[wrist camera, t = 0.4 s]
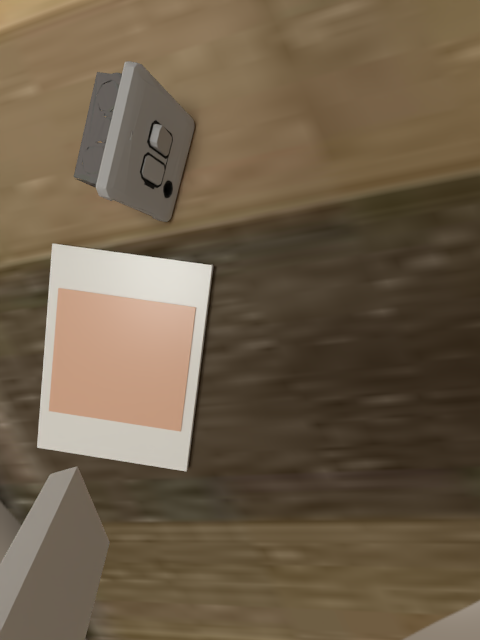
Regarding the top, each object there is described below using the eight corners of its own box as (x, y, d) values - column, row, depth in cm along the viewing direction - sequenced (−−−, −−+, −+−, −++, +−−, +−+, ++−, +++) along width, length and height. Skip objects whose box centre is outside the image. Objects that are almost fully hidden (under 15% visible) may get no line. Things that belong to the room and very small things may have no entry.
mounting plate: (58, 244, 36) (51, 243, 35) (213, 265, 36) (211, 265, 34) (42, 443, 39) (35, 448, 38) (188, 466, 38) (185, 472, 37)
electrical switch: (170, 225, 36) (126, 203, 26) (120, 210, 36) (60, 184, 27) (197, 122, 34) (161, 62, 25) (144, 109, 35) (90, 46, 26)
